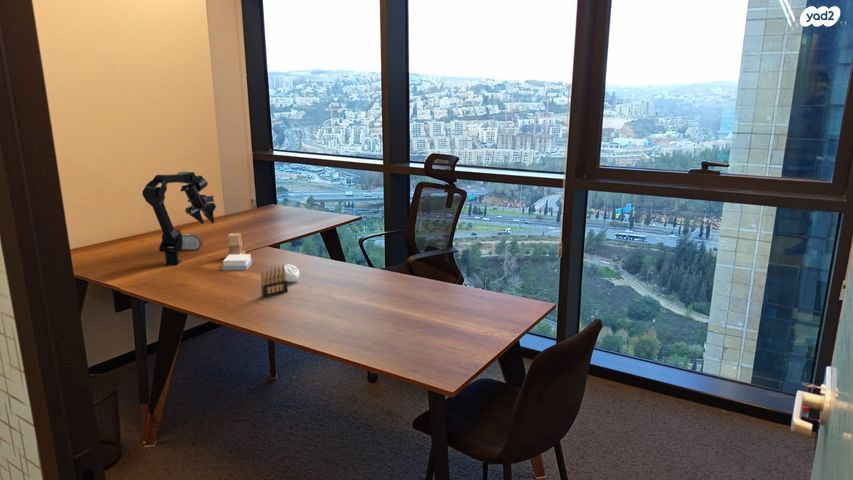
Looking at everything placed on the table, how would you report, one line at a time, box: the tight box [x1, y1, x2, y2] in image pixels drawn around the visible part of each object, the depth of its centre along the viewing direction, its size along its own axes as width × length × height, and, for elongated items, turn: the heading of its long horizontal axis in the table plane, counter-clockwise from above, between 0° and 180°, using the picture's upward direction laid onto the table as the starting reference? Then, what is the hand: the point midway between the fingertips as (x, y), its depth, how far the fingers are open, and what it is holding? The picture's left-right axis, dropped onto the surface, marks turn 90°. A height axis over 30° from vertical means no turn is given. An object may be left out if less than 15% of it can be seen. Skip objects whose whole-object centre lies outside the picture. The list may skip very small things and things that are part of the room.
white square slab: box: [222, 253, 252, 266], centre depth 271 cm, size 10×10×2 cm
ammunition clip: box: [260, 264, 289, 299], centre depth 235 cm, size 11×2×12 cm, turn 130°
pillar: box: [226, 232, 246, 257], centre depth 284 cm, size 7×7×12 cm
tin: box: [180, 232, 204, 251], centre depth 298 cm, size 15×3×8 cm, turn 84°
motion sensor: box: [281, 264, 301, 283], centre depth 250 cm, size 8×8×8 cm
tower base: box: [221, 258, 253, 271], centre depth 272 cm, size 11×11×2 cm
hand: (208, 223), depth 293 cm, fingers open, 9 cm apart
